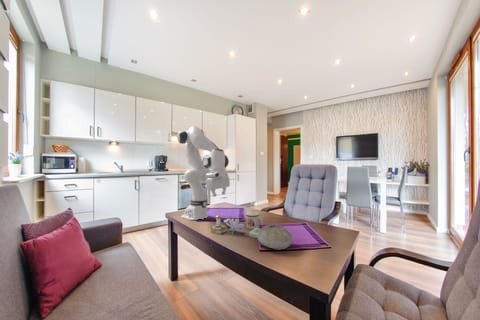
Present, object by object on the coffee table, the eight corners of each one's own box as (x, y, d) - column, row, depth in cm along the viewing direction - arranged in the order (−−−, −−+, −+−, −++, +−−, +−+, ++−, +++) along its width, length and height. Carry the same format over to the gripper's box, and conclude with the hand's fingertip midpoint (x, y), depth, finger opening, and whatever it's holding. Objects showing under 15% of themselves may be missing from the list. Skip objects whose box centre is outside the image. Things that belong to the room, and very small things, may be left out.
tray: (249, 236, 116) (249, 232, 116) (255, 231, 123) (255, 227, 123) (263, 239, 111) (263, 235, 111) (269, 234, 119) (269, 230, 119)
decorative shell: (297, 244, 104) (297, 225, 104) (284, 257, 90) (284, 235, 90) (267, 237, 114) (266, 220, 115) (251, 248, 100) (251, 228, 100)
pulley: (221, 227, 132) (221, 219, 132) (227, 225, 138) (227, 217, 138) (230, 229, 128) (230, 221, 128) (235, 226, 134) (235, 218, 134)
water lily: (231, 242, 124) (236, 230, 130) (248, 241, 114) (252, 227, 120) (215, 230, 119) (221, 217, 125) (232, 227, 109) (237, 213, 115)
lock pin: (214, 231, 124) (214, 216, 124) (218, 230, 127) (217, 214, 127) (219, 232, 122) (218, 216, 122) (222, 231, 125) (222, 215, 126)
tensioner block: (210, 232, 124) (210, 227, 124) (217, 228, 130) (217, 224, 130) (219, 234, 120) (219, 229, 120) (226, 230, 126) (226, 226, 126)
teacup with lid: (243, 227, 132) (243, 210, 132) (250, 224, 139) (250, 207, 139) (258, 231, 124) (258, 212, 125) (265, 227, 132) (265, 210, 132)
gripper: (224, 173, 137) (224, 192, 136) (204, 174, 119) (204, 197, 119) (231, 173, 133) (232, 193, 133) (212, 174, 116) (213, 198, 115)
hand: (219, 195), depth 126 cm, fingers open, 8 cm apart
